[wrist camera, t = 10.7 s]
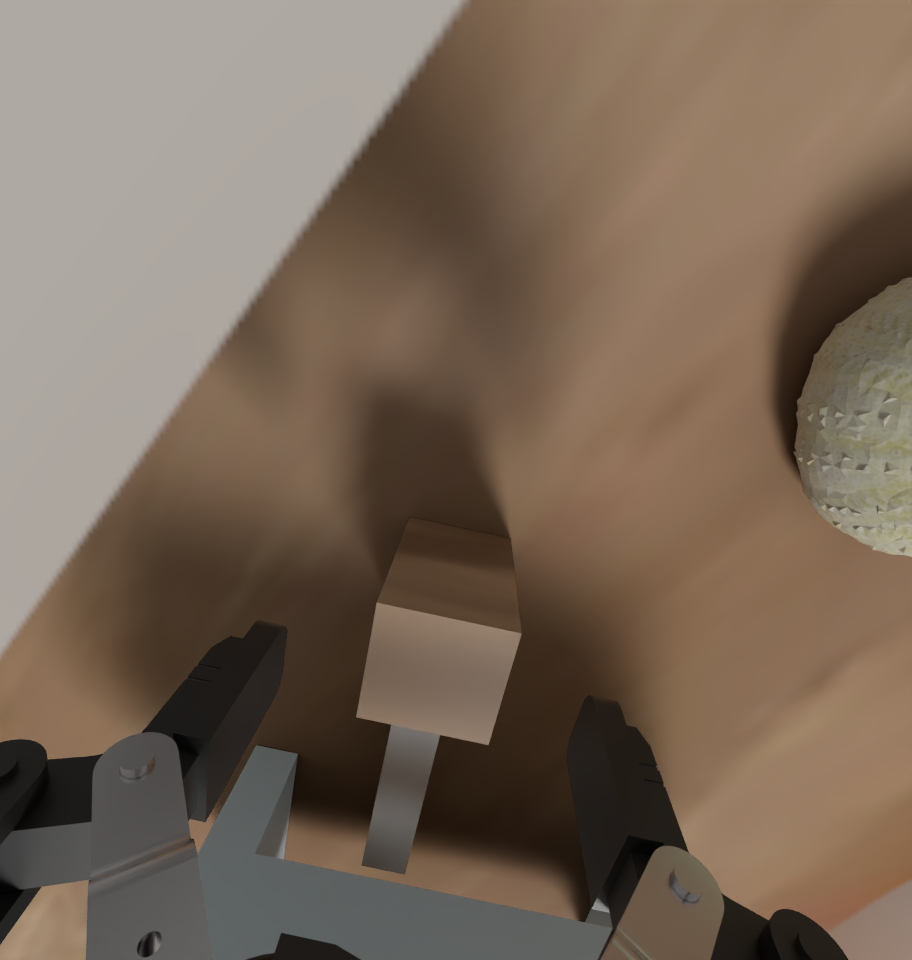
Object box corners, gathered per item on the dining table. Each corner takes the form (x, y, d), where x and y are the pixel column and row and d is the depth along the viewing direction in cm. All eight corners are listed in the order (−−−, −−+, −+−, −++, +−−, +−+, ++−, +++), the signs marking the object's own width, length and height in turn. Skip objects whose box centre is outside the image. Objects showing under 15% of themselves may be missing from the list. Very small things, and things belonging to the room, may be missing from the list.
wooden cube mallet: (409, 516, 19) (376, 602, 13) (510, 538, 19) (521, 633, 13) (351, 818, 24) (310, 973, 18) (430, 834, 24) (413, 993, 18)
